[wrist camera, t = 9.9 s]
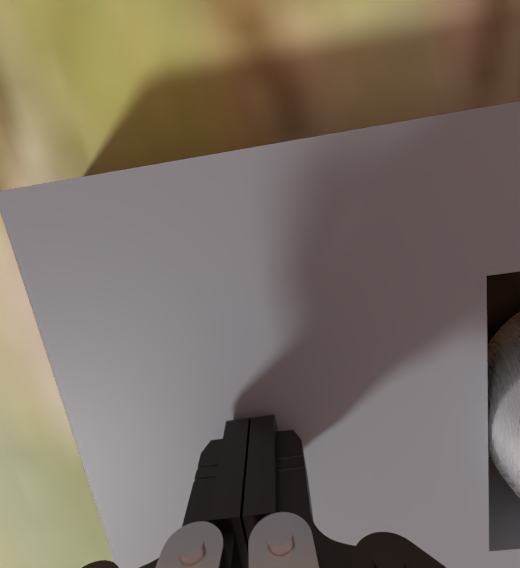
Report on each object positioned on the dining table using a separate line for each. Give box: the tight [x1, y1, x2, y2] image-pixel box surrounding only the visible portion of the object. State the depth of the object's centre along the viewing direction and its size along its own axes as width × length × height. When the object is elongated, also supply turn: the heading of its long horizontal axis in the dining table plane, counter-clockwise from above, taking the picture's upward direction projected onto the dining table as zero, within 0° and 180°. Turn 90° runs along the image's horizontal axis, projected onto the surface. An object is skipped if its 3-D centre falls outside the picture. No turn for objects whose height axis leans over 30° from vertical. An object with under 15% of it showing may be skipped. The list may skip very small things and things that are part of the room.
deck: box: [0, 101, 520, 568], centre depth 13 cm, size 18×26×4 cm
